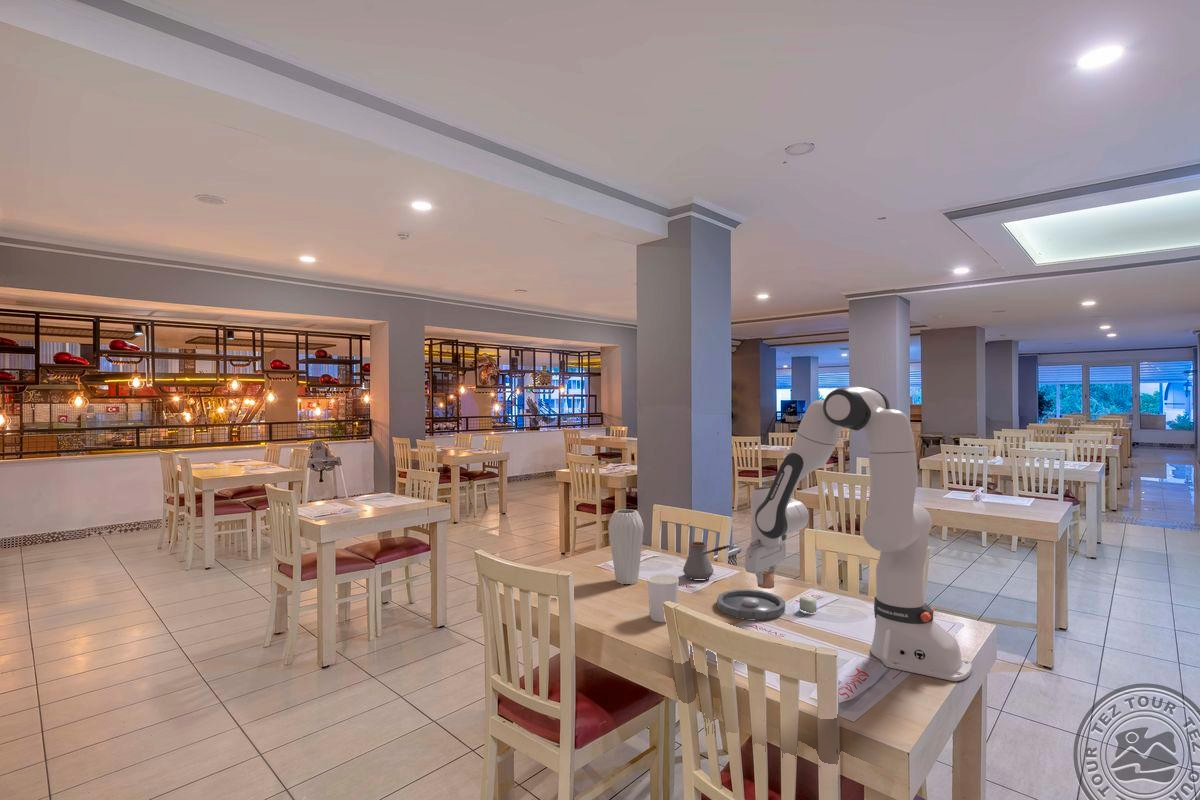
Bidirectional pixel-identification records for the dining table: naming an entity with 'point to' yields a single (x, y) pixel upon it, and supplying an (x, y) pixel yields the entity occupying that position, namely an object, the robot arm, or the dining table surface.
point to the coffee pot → (699, 561)
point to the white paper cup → (661, 594)
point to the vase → (626, 544)
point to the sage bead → (808, 604)
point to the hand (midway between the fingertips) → (765, 580)
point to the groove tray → (757, 613)
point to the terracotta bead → (767, 580)
